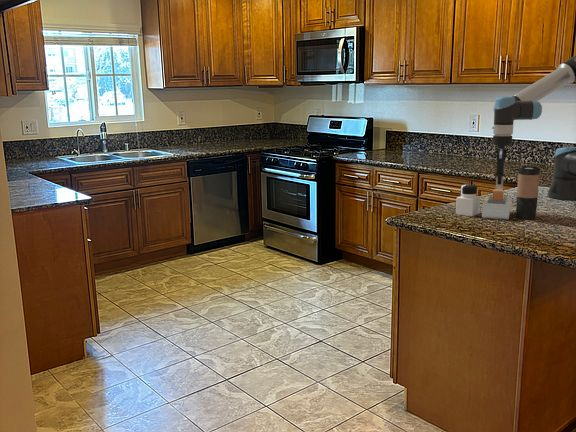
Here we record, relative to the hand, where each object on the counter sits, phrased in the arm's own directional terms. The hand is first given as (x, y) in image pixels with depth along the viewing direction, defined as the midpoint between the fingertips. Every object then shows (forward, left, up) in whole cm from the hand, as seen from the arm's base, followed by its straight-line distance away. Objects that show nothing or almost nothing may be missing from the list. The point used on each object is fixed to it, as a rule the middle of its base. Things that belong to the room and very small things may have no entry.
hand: (498, 191), depth 237 cm
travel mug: (-11, +12, -8) cm, 18 cm away
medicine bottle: (+11, +12, -8) cm, 18 cm away
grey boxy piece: (0, +10, -8) cm, 13 cm away
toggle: (0, +7, -2) cm, 7 cm away
